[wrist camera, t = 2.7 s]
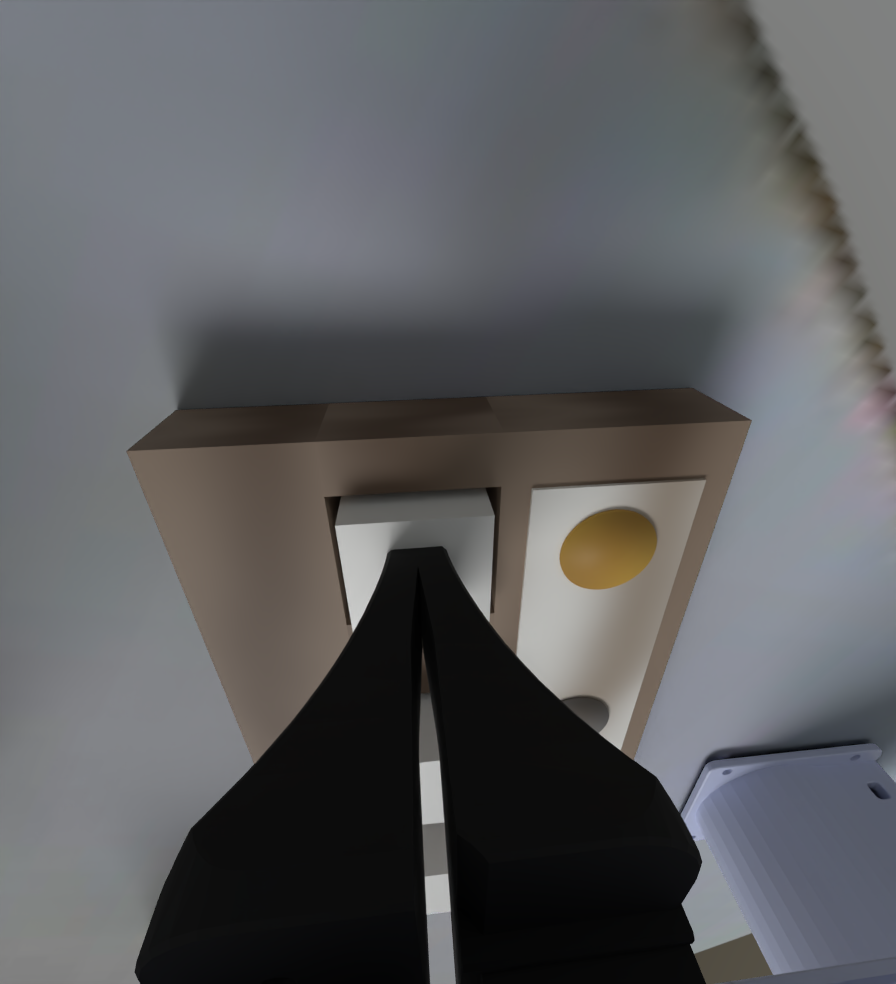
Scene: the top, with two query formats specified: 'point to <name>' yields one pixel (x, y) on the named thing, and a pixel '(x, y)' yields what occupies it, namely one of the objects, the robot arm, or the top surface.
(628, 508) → the button board
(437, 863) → the button back
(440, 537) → the button front
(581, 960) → the robot arm
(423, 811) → the button middle
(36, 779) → the top surface
